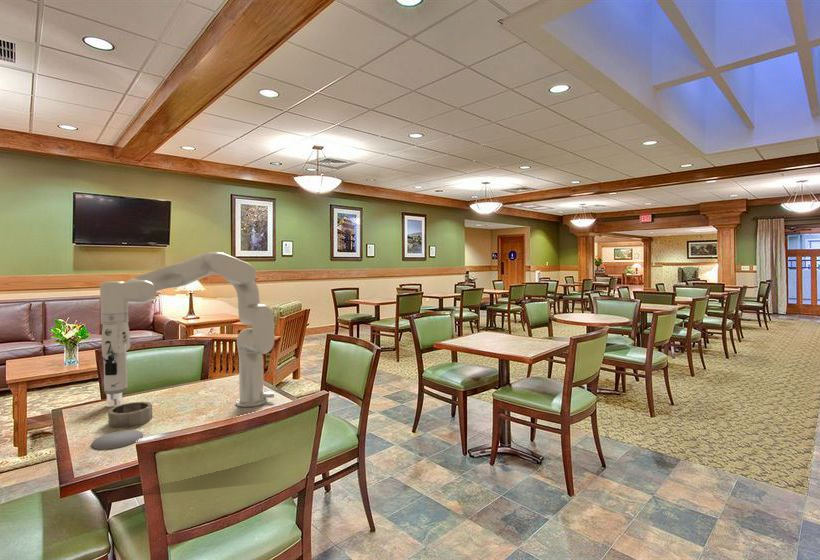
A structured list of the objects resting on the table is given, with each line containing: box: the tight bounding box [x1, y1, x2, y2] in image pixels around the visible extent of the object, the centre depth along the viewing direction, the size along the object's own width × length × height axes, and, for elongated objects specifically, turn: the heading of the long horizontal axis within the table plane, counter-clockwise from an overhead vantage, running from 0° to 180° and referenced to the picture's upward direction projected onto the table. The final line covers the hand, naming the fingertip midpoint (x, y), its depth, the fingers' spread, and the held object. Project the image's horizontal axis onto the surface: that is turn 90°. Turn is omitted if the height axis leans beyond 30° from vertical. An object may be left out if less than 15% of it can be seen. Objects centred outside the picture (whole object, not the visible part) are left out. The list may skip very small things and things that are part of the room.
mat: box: [91, 429, 144, 450], centre depth 142 cm, size 14×14×1 cm
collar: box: [107, 401, 153, 429], centre depth 159 cm, size 13×13×5 cm
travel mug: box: [102, 332, 128, 395], centre depth 141 cm, size 6×7×20 cm
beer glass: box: [105, 392, 124, 408], centre depth 176 cm, size 7×7×15 cm
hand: (116, 371), depth 141 cm, fingers closed on travel mug, 6 cm apart
